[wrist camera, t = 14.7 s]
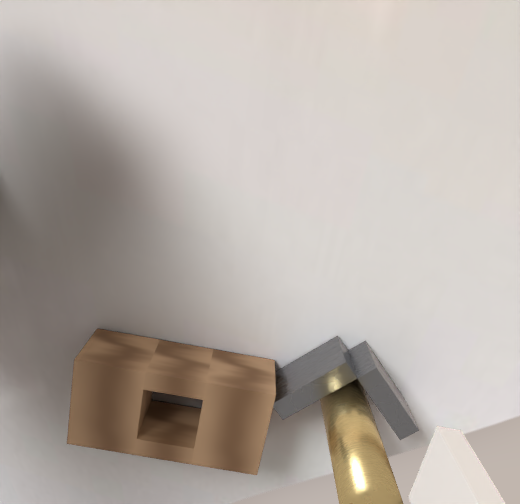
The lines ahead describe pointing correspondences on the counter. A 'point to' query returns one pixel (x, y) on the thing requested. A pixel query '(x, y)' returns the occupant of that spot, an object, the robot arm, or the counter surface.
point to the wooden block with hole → (165, 414)
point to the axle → (357, 449)
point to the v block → (341, 382)
